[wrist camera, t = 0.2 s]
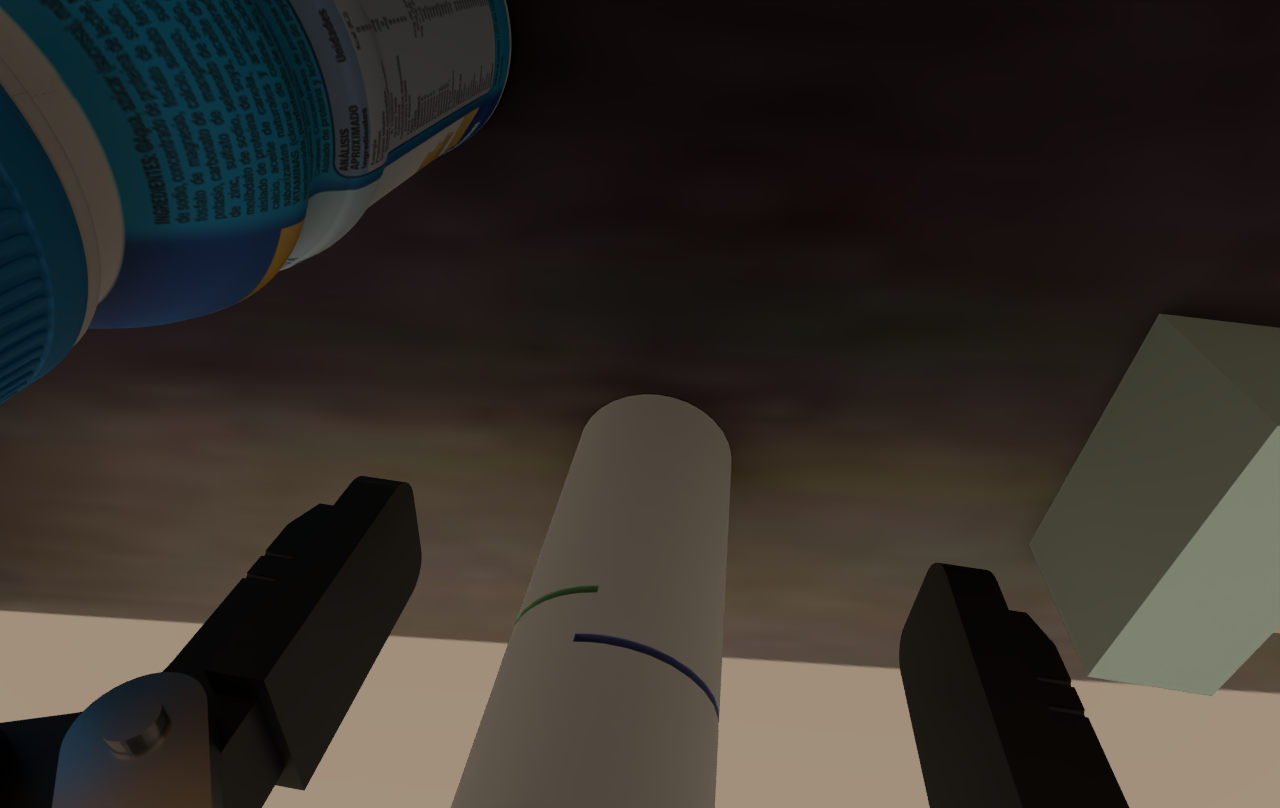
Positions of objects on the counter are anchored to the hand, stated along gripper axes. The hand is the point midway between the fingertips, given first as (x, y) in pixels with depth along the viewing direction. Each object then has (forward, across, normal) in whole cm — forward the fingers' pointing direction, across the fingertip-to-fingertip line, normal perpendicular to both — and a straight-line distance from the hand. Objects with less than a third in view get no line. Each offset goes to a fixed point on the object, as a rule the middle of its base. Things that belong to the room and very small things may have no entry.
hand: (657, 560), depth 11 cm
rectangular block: (+18, -19, +7) cm, 27 cm away
